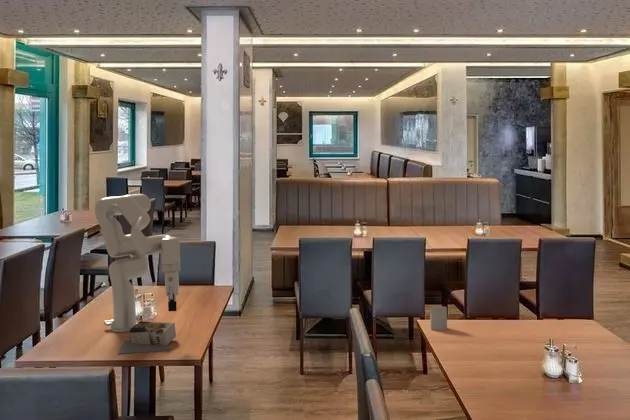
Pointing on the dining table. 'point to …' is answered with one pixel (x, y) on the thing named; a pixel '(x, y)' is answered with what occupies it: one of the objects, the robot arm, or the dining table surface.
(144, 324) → the coffee box
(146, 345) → the mat
